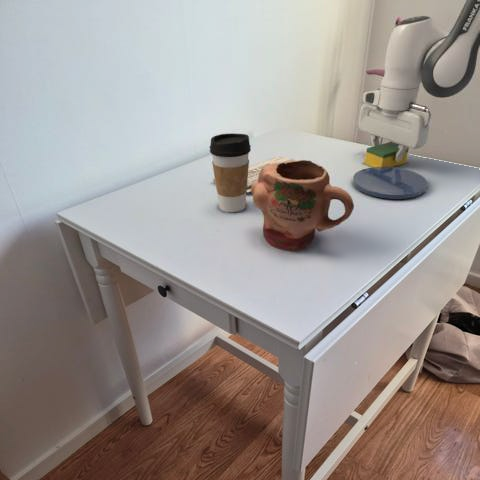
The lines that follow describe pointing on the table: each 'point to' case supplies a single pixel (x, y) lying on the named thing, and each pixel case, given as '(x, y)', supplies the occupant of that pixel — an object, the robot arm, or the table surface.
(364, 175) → the plate
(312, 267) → the table surface
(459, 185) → the table surface
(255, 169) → the newspaper
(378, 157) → the sponge
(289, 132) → the table surface
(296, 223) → the sculpted ceramic mug
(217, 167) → the coffee cup
